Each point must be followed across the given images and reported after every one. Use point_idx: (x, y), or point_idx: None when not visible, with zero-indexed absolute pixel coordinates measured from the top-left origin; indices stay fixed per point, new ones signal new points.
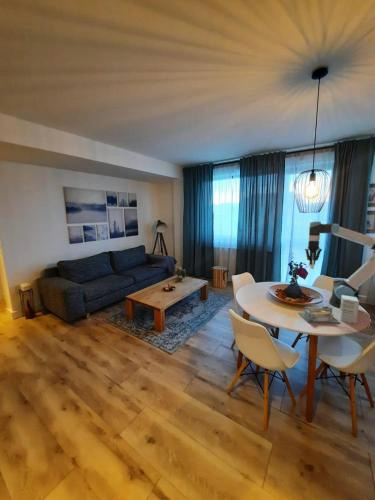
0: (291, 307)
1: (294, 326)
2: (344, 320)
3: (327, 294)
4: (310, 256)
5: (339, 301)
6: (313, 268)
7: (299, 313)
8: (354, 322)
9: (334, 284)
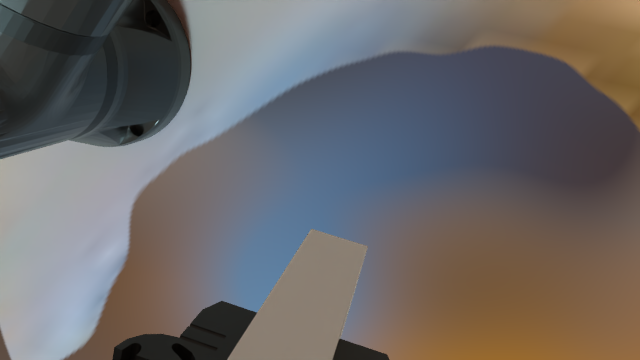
0: (632, 110)
1: None
2: None
3: (50, 279)
4: None
5: (129, 5)
6: (314, 235)
7: None
8: None
9: (42, 60)
